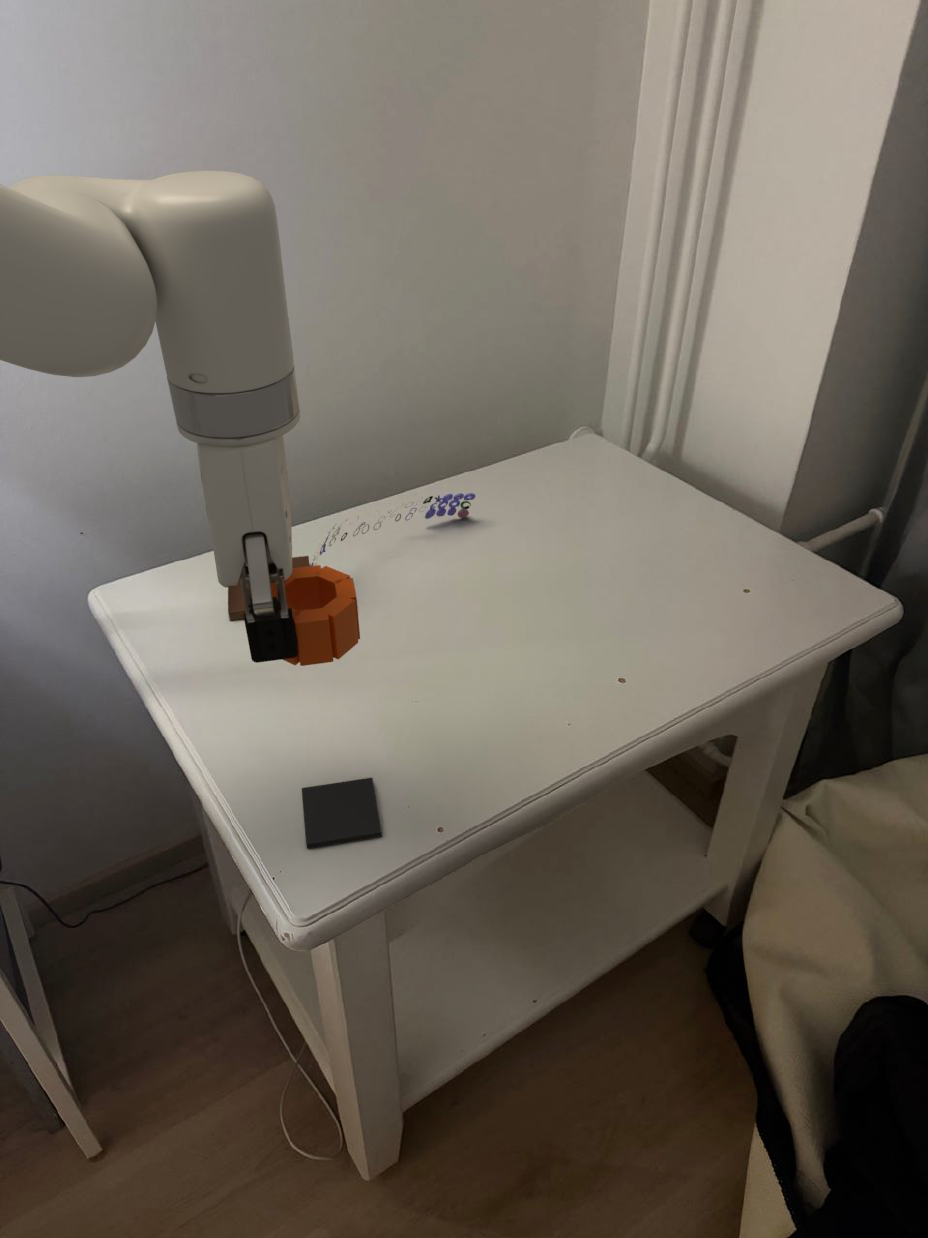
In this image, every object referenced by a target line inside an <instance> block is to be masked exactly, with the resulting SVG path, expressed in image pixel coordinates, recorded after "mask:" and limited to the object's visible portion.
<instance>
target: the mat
mask: <svg viewBox="0 0 928 1238" xmlns="http://www.w3.org/2000/svg"><path fill="white" fill-rule="evenodd" d="M374 785H375V784H374V778H373V777H366V778H359V779H352V780H346V781H339V782H332V783H326V784H319V785H312V786H306V787H302V788H301V799H302V809H303V820H304V832H305V844H306V845H305V846H306V849H314V848H320V847H325V846H327V847H328V846H332V845H339V844H344V843H352V842H356V841H363V840H369V839H377V838H382V835H383V834H382V827H381V821H380V816H379V815H380V814H379V808H378V804H377V797H376V792H375V786H374Z"/></svg>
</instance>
